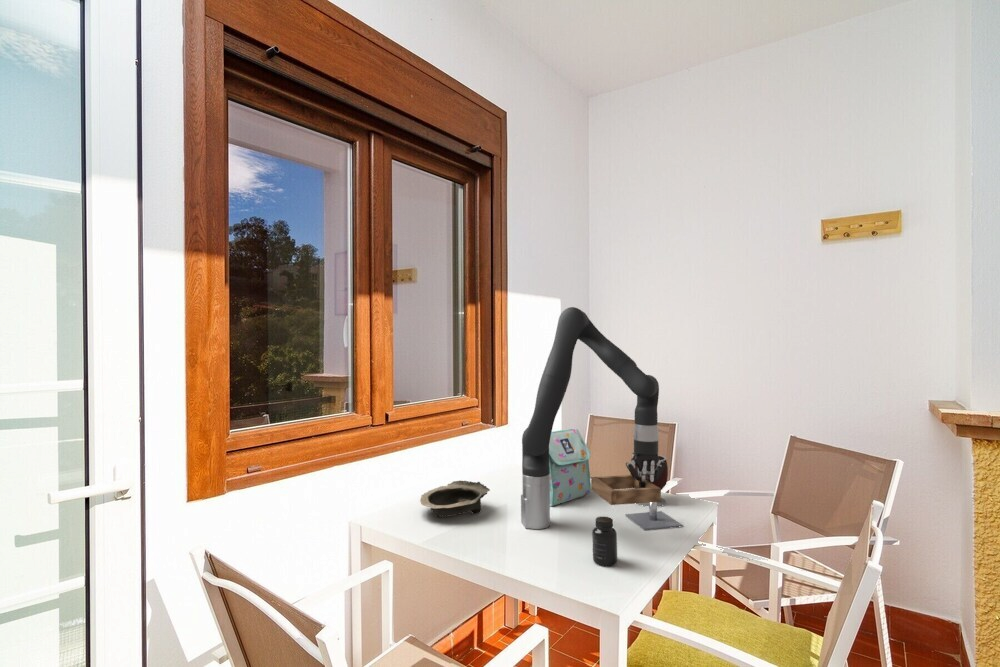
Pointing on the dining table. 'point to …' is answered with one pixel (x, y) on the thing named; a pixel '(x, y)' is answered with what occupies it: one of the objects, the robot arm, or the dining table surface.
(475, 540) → the dining table surface
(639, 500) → the walnut collar
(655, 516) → the steel post
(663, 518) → the slate plate
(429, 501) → the stone bowl
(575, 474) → the lunch bag
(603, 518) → the supplement bottle
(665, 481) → the mate gourd
